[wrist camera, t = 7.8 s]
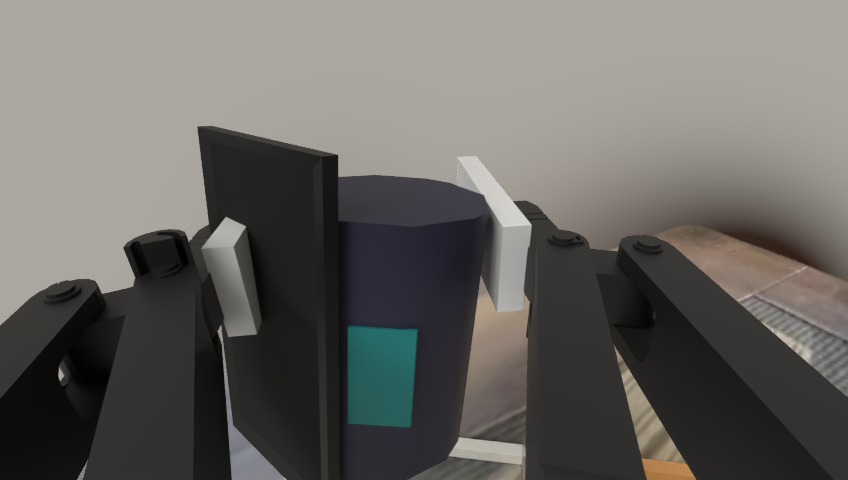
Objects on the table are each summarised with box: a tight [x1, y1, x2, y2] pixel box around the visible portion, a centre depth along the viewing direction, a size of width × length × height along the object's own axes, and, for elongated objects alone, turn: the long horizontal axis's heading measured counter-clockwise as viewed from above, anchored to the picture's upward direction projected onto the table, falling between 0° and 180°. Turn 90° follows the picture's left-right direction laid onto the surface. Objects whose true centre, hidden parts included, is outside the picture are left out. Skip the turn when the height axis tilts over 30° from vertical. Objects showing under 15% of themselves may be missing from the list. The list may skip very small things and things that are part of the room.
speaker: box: [198, 126, 489, 480], centre depth 12 cm, size 8×6×10 cm
